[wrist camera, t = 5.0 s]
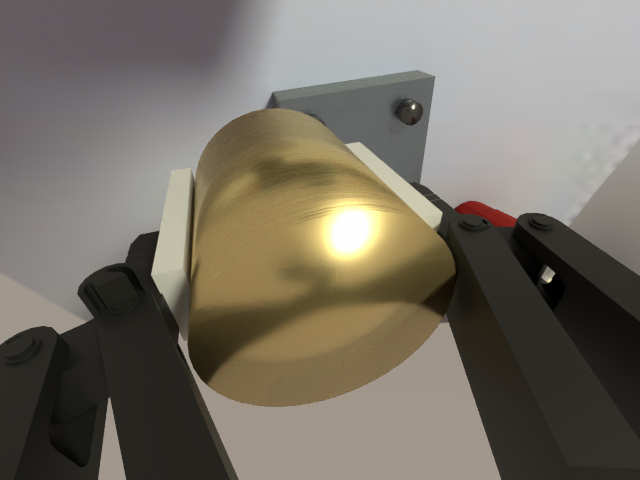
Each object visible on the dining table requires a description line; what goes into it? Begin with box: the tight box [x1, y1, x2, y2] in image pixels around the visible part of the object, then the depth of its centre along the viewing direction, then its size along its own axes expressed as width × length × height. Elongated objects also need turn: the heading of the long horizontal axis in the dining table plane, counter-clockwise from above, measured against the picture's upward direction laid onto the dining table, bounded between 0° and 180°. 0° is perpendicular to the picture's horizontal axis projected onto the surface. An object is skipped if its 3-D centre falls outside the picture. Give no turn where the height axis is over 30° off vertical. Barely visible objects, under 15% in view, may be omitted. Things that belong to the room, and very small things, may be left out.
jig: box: [273, 70, 435, 184], centre depth 34 cm, size 24×14×6 cm, turn 5°
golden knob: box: [188, 108, 456, 407], centre depth 12 cm, size 7×7×10 cm
